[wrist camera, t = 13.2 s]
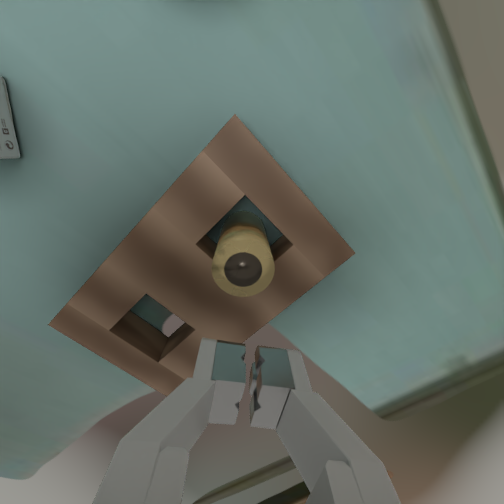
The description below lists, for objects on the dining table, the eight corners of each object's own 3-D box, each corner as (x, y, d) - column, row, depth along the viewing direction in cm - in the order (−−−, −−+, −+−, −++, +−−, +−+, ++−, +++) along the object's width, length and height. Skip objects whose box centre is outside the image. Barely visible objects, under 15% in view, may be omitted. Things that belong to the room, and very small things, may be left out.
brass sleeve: (254, 257, 24) (260, 304, 16) (216, 243, 23) (202, 285, 15) (271, 220, 22) (285, 253, 15) (231, 204, 22) (224, 230, 14)
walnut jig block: (179, 371, 29) (171, 399, 26) (73, 302, 25) (47, 324, 22) (339, 239, 23) (355, 253, 20) (236, 120, 19) (234, 114, 16)
